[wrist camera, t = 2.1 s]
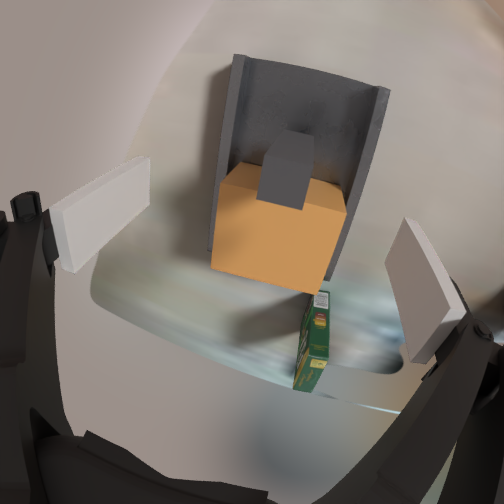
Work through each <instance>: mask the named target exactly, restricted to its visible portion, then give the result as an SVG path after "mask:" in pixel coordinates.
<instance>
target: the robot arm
mask: <svg viewBox="0 0 504 504" xmlns="http://www.w3.org/2000/svg"><path fill="white" fill-rule="evenodd" d="M10 203H11V208H12V213H13V217H14V222H7V219H6V215H5V212H4V211H0V504H278V503H276V502H274V501H272V500H269V499H267V496H268V491H263V490H256V489H251V488H246V487H241V486H237V485H232V484H227V483H223V482H211V481H193V480H182V479H172V478H168V477H165V476H164V475H162V474H161V473H159V472H157V471H156V470H154V469H153V468H151V467H150V466H148V465H147V464H145V463H144V462H143V461H141V460H140V459H139V458H137V457H136V456H134V455H133V454H132V453H130V452H129V451H128V450H126V449H124V448H122V447H120V446H118V445H116V444H113V443H111V442H110V441H107V440H105V439H103V438H101V437H100V436H98V435H96V434H93V433H91V432H90V431H88V430H87V431H86V433H85V435H84V437H81V436H74V434H73V432H72V430H71V427H70V425H69V423H68V421H67V419H66V416H65V413H64V409H63V402H62V396H61V389H60V382H59V374H58V365H57V354H56V339H55V313H54V295H55V266H54V261H55V260H56V259H57V258H58V257H59V259H60V263H61V267H62V269H63V270H66V271H68V272H71V273H73V274H76V272H78V271H79V269H80V268H82V267H83V266H84V265H85V264H86V263H87V261H89V260H90V259H91V258H92V257H93V256H94V255H95V254H96V253H97V252H98V251H99V250H100V249H101V248H102V247H103V246H104V245H105V244H106V243H107V242H109V241H110V240H111V239H112V238H113V237H114V236H115V235H116V234H117V233H118V232H119V231H120V230H122V229H123V228H124V227H125V226H126V225H127V224H128V223H129V222H131V221H132V220H133V219H134V218H135V217H136V216H137V215H138V214H140V213H141V212H142V211H143V210H144V209H145V208H147V207H148V206H149V205H150V157H143V156H137V157H135V158H133V159H131V160H129V161H127V162H125V163H123V164H122V165H120V166H118V167H116V168H114V169H112V170H110V171H109V172H107V173H105V174H104V175H102V176H100V177H98V178H97V179H95V180H93V181H91V182H90V183H88V184H86V185H84V186H83V187H81V188H80V189H78V190H76V191H75V192H73V193H71V194H70V195H68V196H67V197H65V198H64V199H62V200H60V201H59V202H57V203H56V204H54V205H53V206H51V207H50V208H49V209H47V210H46V211H44V212H43V213H42V208H41V203H40V196H39V193H38V192H35V191H29V192H25V193H21V194H19V195H17V196H16V197H14V198H13V199H12V200H11V201H10ZM385 265H386V268H387V272H388V275H389V278H390V282H391V285H392V289H393V292H394V296H395V299H396V303H397V307H398V311H399V315H400V319H401V323H402V327H403V331H404V336H405V340H406V344H407V349H408V354H409V358H410V362H413V363H422V364H426V363H427V362H428V361H429V360H430V359H431V357H432V356H433V355H434V354H435V356H436V360H437V362H436V363H435V364H434V366H433V367H432V368H431V369H430V370H429V371H428V372H427V373H426V375H424V377H423V378H422V379H421V380H422V381H423V382H422V383H421V385H420V386H419V388H418V389H417V391H416V392H415V394H414V395H413V396H412V398H411V399H410V401H409V402H408V404H407V405H406V406H405V408H404V409H403V410H402V412H401V413H400V414H399V416H398V417H397V418H396V420H395V421H394V422H393V423H392V424H391V426H390V427H389V428H388V430H387V431H386V432H385V433H384V434H383V436H382V437H381V438H380V439H379V440H378V441H377V443H376V444H375V445H374V446H373V447H372V448H371V449H370V451H369V452H368V453H367V454H366V455H365V456H364V457H363V458H362V459H361V460H360V461H359V463H358V464H357V465H356V466H355V467H354V468H353V469H352V470H351V471H350V472H349V473H348V474H347V475H346V476H345V477H344V478H343V479H342V480H341V481H340V482H339V483H337V484H336V485H335V486H334V487H333V488H332V489H331V490H330V491H329V492H328V493H326V494H325V495H324V496H323V497H321V498H320V499H318V500H317V501H315V502H313V503H312V504H420V502H421V501H422V499H423V497H424V496H425V495H426V493H427V492H428V490H429V488H430V487H431V485H432V484H433V482H434V480H435V479H436V477H437V475H438V474H439V472H440V471H441V469H442V467H443V466H444V463H445V462H446V460H447V458H448V457H449V455H450V453H451V451H452V449H453V447H454V445H455V443H456V441H457V443H456V447H455V451H454V455H453V458H452V462H451V465H450V468H449V472H448V475H447V478H446V481H445V484H444V487H443V489H442V492H441V495H440V498H439V500H438V503H437V504H504V345H503V346H501V345H499V344H497V343H495V342H494V338H493V335H492V332H491V331H490V329H489V328H488V327H487V326H486V325H485V324H484V323H483V322H481V321H479V320H476V319H473V317H472V315H471V312H470V310H469V308H468V306H467V304H466V302H465V301H464V298H463V296H462V294H461V292H460V290H459V288H458V286H457V284H456V283H455V282H454V281H453V280H452V279H451V277H450V276H449V275H448V274H447V272H446V270H445V268H444V266H443V264H442V263H441V261H440V259H439V257H438V255H437V254H436V252H435V250H434V249H433V247H432V245H431V243H430V242H429V240H428V238H427V237H426V235H425V234H424V232H423V230H422V229H421V227H420V225H419V224H418V222H417V221H414V220H411V219H408V218H405V217H404V219H403V221H402V224H401V226H400V229H399V231H398V233H397V236H396V238H395V240H394V243H393V245H392V247H391V249H390V251H389V254H388V256H387V258H386V260H385Z"/></svg>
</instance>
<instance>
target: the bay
mask: <svg viewBox="0 0 504 504" xmlns="http://www.w3.org/2000/svg"><path fill="white" fill-rule="evenodd" d="M390 91H391V90H390V89H387V88H384V87H381V86H372V85H369V84H366V83H363V82H359V81H356V80H353V79H349V78H346V77H342V76H339V75H335V74H331V73H327V72H323V71H319V70H315V69H310V68H306V67H301V66H296V65H291V64H286V63H280V62H275V61H268V60H262V59H255V58H250V57H248V56H246V55H239V54H234V56H233V62H232V68H231V73H230V79H229V86H228V92H227V98H226V105H225V111H224V118H223V125H222V132H221V139H220V146H219V154H218V161H217V169H216V177H215V185H214V194H213V203H212V212H211V221H210V231H209V241H208V251H211V252H212V249H213V240H214V231H215V222H216V214H217V205H218V197H219V189H220V183H221V182H222V180H223V179H224V178H225V177H226V176H227V175H228V174H229V173H230V172H231V171H232V170H233V169H234V168H235V167H236V166H237V165H238V164H239V163H240V162H244V163H249V164H253V165H258V166H262V165H263V160H264V155H265V153H266V152H267V151H268V149H269V148H270V147H271V145H272V144H273V143H274V142H275V140H276V139H277V138H278V136H279V135H280V134H281V132H282V131H283V130H284V129H286V130H291V131H295V132H299V133H303V134H307V135H311V136H314V167H313V171H312V175H311V178H313V179H317V180H320V181H324V182H328V183H331V184H335V185H339V186H341V190H342V194H343V198H344V203H345V207H346V212H347V215H346V218H345V221H344V224H343V227H342V229H341V232H340V235H339V238H338V241H337V244H336V246H335V249H334V252H333V255H332V257H331V260H330V263H329V265H328V268H327V271H326V273H325V276H324V279H323V280H325V281H330V279H331V276H332V274H333V271H334V269H335V266H336V264H337V261H338V258H339V256H340V253H341V251H342V248H343V245H344V243H345V240H346V237H347V234H348V232H349V229H350V226H351V223H352V220H353V217H354V215H355V212H356V209H357V206H358V203H359V200H360V197H361V194H362V191H363V188H364V185H365V181H366V178H367V175H368V172H369V169H370V165H371V162H372V159H373V155H374V152H375V148H376V145H377V141H378V138H379V134H380V131H381V127H382V123H383V119H384V115H385V111H386V108H387V103H388V99H389V95H390Z"/></svg>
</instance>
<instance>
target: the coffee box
mask: <svg viewBox="0 0 504 504" xmlns="http://www.w3.org/2000/svg"><path fill="white" fill-rule="evenodd" d="M329 340H330V292H327V291H321V290H319V291H318V294H317V295H313V294H311V297H310V300H309V302H308V305H307V308H306V311H305V314H304V316H303V320H302V323H301V329H300V337H299V347H298V355H297V362H296V369H295V376H294V383H293V389H294V390H298V391H303V392H309V393H311V392H312V391H313V389H314V387H315V385H316V383H317V381H318V379H319V378H320V376H321V374H322V372H323V370H324V368H325V366H326V364H327V362H328V360H329Z"/></svg>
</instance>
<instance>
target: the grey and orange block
mask: <svg viewBox="0 0 504 504" xmlns="http://www.w3.org/2000/svg"><path fill="white" fill-rule="evenodd" d="M313 167H314V136H311V135H307V134H303V133H299V132H295V131H291V130H286V129H284V130H283V131H282V132H281V134H280V135H279V136H278V138H277V139H276V140H275V142H274V143H273V144H272V145H271V147H270V148H269V149H268V151H267V152H266V153H265V155H264V160H263V165H262V166H258V165H253V164H249V163H244V162H240V163H239V164H238V165H237V166H236V167H235V168H234V169H233V170H232V171H231V172H230V173H229V174H228V175H227V176H226V177H225V178H224V179H223V180H222V182H221V183H220V189H219V197H218V205H217V214H216V222H215V231H214V240H213V249H212V259H211V268H212V269H215V270H219V271H223V272H227V273H230V274H234V275H238V276H242V277H246V278H250V279H253V280H257V281H261V282H265V283H269V284H273V285H277V286H281V287H285V288H289V289H293V290H297V291H301V292H305V293H309V294H313V295H317V294H318V291H319V289H320V286H321V284H322V281H323V279H324V276H325V273H326V271H327V268H328V265H329V263H330V260H331V257H332V255H333V252H334V249H335V246H336V244H337V241H338V238H339V235H340V232H341V229H342V227H343V224H344V221H345V218H346V215H347V212H346V207H345V203H344V198H343V194H342V190H341V186H339V185H335V184H331V183H328V182H324V181H320V180H317V179H313V178H311V175H312V171H313Z"/></svg>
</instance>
